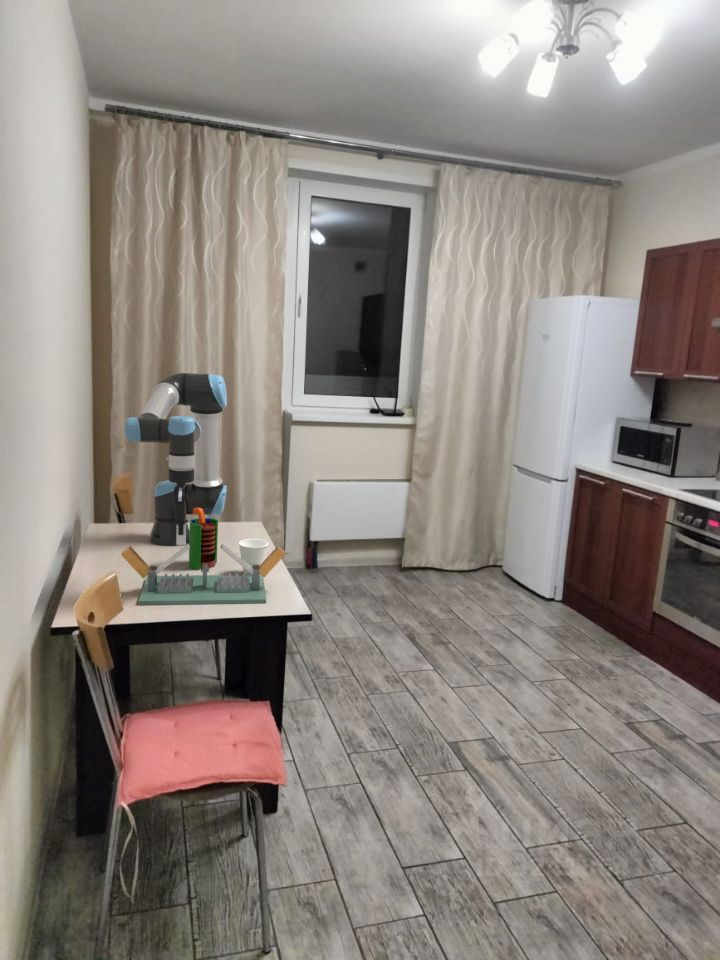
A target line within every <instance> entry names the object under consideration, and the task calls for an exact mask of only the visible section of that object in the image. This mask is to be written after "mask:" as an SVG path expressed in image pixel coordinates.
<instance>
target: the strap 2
mask: <svg viewBox="0 0 720 960" xmlns="http://www.w3.org/2000/svg"><path fill="white" fill-rule="evenodd" d="M220 549H221V551H223V553H225V554H226V555H228V556H229V557H231V559H233V561H235V562H236V563H237V564H239V565H240V566H242V568H243V567H244V568H245V569H246V570H248V571H249V572H250V573H251V574H253V570H260V575H262V576H263V578H265V577H266V576H267V575H268V574H269V573H270V572H271V571H272V570H273V569H274V567H275V566H276V565H277V564H279V562H280V561H281V560H282V559H283V558H284V556H285V555H286V551H285V550H284V549H283V548H281V547H280V546H279V545H277V546H276V547H275V548H274V549H273V550H272V551H271V552H270V553H269V555H268V556H267V557H265V560H264V561H263V562H262V564H261V565H260V566H259V567H258V568H257V569H254V568H253V567H251V566H250V565H249V564H248V563H246V562H245V561H244V560H243V559H241V556H239V555H238V554H237V553H235V552H234V551H233V550H232V549H230V548H229V547H228V546H227V545H225V544H224V543H222V544H221V545H220Z"/></svg>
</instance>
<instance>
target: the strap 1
mask: <svg viewBox="0 0 720 960" xmlns="http://www.w3.org/2000/svg"><path fill="white" fill-rule="evenodd" d="M189 549H190V545H189V543H186V545H183V547H182V548H180V549H179V550H178V551H176V552H175V553H174V554H173V555H171V556H170V557H169V558H167V559H166V560H165V561H164V562H163V563H161V564H160V565H158V566H157V568H156V569H155V576H156V575H157V576H158V574H160V572H162V571H163V570H164V569H166V568H167V567H168V566H169V565H171V564H172V563H174V562H175V561H176V560H177V559H179V558H180V557H181V556H182V555H184V554H185V553H186V552H188V551H189ZM120 555H121V557H122V558H123V559H124V560H125V561H126V562H127V563H128V564H129V565H130V566H131V568H133V570H134V571H135V572H137V574H139V575H140V577H141V578H142V579H146V578H147V576H148V571H151V570H152V569H151V568H150V565H149V564H148V563H147V562H146V561H145V560H144V559H143V558H142V557H141V556H140V555H139V554H138V552H137V551H135V549H134V548H133V547H132V546H131V545H129V546H128V547H126V548H125V549H124V550H122V551H121V553H120Z"/></svg>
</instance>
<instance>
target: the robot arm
mask: <svg viewBox="0 0 720 960" xmlns="http://www.w3.org/2000/svg"><path fill="white" fill-rule="evenodd" d="M150 394H151V395H150V398H149V400H148V401H147V402H146V405H145V407H144V408H143V409H142V412H141V413H140V414H139V416H134V417H133V416H131V417H128V418H127V419H126V421H125V426H124V433H125V437H126V438H125V439H126V440H127V441H129V442H136V443H157V444H160V443H161V444H162V443H163V444H168V456H166V460H167V461H168V468H169V469H168V474H167V476H168V477H167V478H168V479H167V480H163V481H160V482H157V484H156V485H155V487H154V495H153V497H154V522H153V525H152V527H151V531H150V534H149V541H150V542H151V544H155V545H158V546H185V545H187V544H189V534H190V526H189V519H187V515H189V516H190V515H191V516H192V515H193V509H194V508H202V509H203V511H204V516H210V517H212V516H221V515H222V514H223V512H224V509H225V505H226V499H227V492H228V486H227V485H225V484H223V483H224V482H223V479H222V478H221V477H220V476H219V475H220V472H219V471H220V469H219V468H220V467H219V466H220V465H219V463H220V462H219V461H220V459H219V457H220V456H219V455H220V454H219V450H220V449H219V447H220V446H219V433H220V432H219V429H220V428H219V425H220V424H219V416H220V415H221V414H222V413H223V411H224V410H223V409H225V408H227V405H228V394H227V386H226V382H225V379H224V377H223V376H222V375H219V374H213V373H191V372H189V373H188V372H187V373H186V372H177V373H173V374H169V375H168V376H166V377H164V378H162V379H160V380H159V381H158V382H156V383H155V384H154V386H153V387H152V390H151V393H150ZM175 406H187V407H189V411H190V414H192V415H193V416H194V418H193V416H192V417H191V416H188V415H185V416H184V415H175V416H170V418H167V416H168V415H169V414H170V411H171V409H172V408H174V407H175ZM189 483H190V484H189Z"/></svg>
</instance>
